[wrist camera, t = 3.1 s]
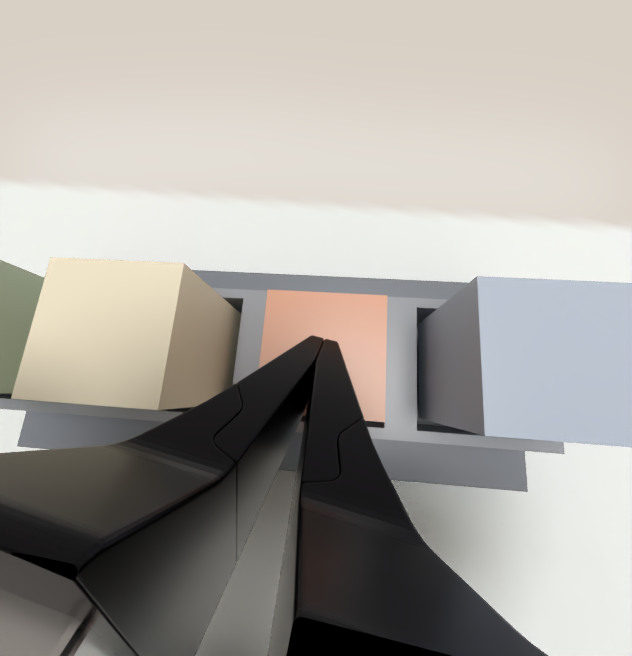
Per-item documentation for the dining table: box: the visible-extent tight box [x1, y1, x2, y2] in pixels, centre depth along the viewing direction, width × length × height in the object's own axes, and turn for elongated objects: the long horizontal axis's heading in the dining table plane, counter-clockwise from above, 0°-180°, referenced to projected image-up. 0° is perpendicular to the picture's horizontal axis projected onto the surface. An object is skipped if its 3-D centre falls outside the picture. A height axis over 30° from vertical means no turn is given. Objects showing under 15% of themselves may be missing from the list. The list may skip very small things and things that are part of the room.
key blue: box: [418, 276, 632, 447], centre depth 10 cm, size 4×4×6 cm
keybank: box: [0, 270, 564, 492], centre depth 15 cm, size 25×10×5 cm, turn 86°
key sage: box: [0, 260, 45, 394], centre depth 11 cm, size 4×4×6 cm
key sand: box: [11, 257, 241, 410], centre depth 11 cm, size 4×4×6 cm
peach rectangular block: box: [259, 290, 388, 422], centre depth 12 cm, size 4×4×6 cm
